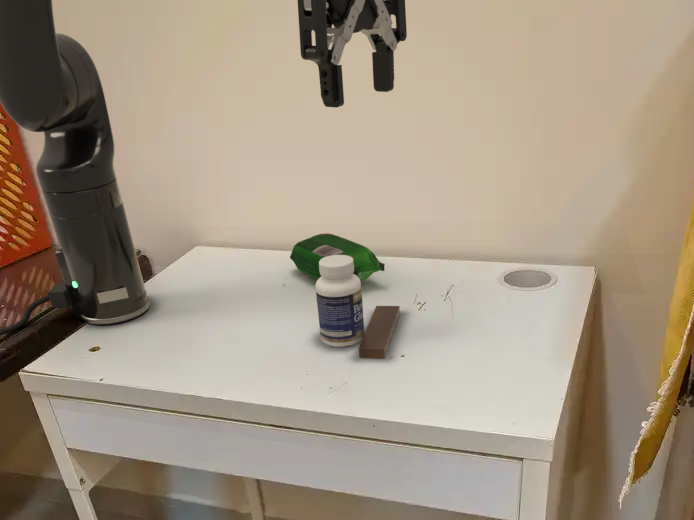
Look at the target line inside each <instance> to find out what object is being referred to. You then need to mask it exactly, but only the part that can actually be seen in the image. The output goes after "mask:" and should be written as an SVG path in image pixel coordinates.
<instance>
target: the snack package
mask: <svg viewBox="0 0 694 520" xmlns="http://www.w3.org/2000/svg"><path fill="white" fill-rule="evenodd" d="M332 255H347V256H350V257H352V258H353V262H354V272H353V273H352V274H354V275H356V276H357V277H358V278H359V279H360V282H363V281H365V280H366V279H368V278H369V277H371V276H372V275H373V273H376V272H379V271H381V272H384V271H385V265H386V263H385V262H384V263H383V262H381V261H380V260H379V259H378V257H377V256H376V255H375V253H374V252H373V251H372V250H371V249H369V248H368V247H366V246H365V245H363V244H360V243H358V242H355V241H352V240H350V239H347V238H345V237H341V236H339V235H336V234H333V233H326V232H325V233H318V234H315V235H312V236H311V237H308V238H305V239H303V240H301V241H298V242H296V244H294V246H293V247H292V251H291V253H290V255H289V259H290V260H291V261H292V262H293V264H294V265H295V267H296V269H297V270H298V271H299V272H300V273H302V274H303V275H305V276H306V277H310V278H312V279H315V280H316V281H317V280H318V279H319V278H320V277H322V276H321V275H320V272H319V261H320V260H321V259H322V258H324V257H327V256H332Z"/></svg>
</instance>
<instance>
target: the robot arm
mask: <svg viewBox="0 0 694 520" xmlns="http://www.w3.org/2000/svg"><path fill="white" fill-rule="evenodd" d="M53 9H54V8H53V0H0V104H1V106H2V108H3V110H4V111H5V112H6V114H7V115H8V116H9V117H10V119H12V121H13V122H14V123H16V124H17V125H18V126H20V127H21V128H22V129H25V130H27V131H29V132H33V133H43V136H44V144H43V148H42V152H41V155H40V157H39V159H38V160H37V163H36V165H35V173H36V178H37V179H38V180H37V181H38V184H39V187H40V189H41V192H42V196H43V199H44V202H45V206H46V208H47V211H48V214H49V217H50V220H51V223H52V227H53V229H54V234H55V236H56V239H57V242H58V246H59V247H58V248H57V249H56V250H55V252H54V256H55V259H56V262H57V265H58V267H59V271H60V275H61V277H62V280H61V281H60V282H58V283H57V284H56V285H55V286H53V287H52V288H50V290H48V291H47V295H45V296H42V297H40V298H37V299H35V300H34V301H33V302H31V303H30V304H29V305H28V306H27V307H26V308H25V310H24V312H23V316H22V318H21V319H20V320H18V321H17V322H15V323H13V324H11V325H8V326H7V327H3V328H0V335H5V334H8V333H11V332H14V331H15V332H16V330H18V329H21V328H23V327H24V326H25V325H26V324H27V323H28V322H29V320H30V318H31V315H32V312H33V311H34V310H35V309H37V307H39V306H40V305H41V306H42V305H43V304H45V303H48V302H50V304H51V308H52V309H69V308H72V312H73V314H74V318H75V320H82V321H83V322H86V323H88V324H93V325H112V324H118V323H122V322H126V321H130V320H132V319H134V318H137V317H139V316H140V315H143V314H144V313H145V312H146V311H148V310H149V308H150V304H151V303H150V300H149V297H148V295H147V290H146V286H145V283H144V279H143V275H142V271H141V267H140V263H139V259H138V255H137V251H136V248H135V244H134V240H133V236H132V231H131V229H130V225H129V220H128V216H127V212H126V208H125V204H124V201H123V198H122V193H121V190H120V186H119V182H118V177H117V174H116V169H115V164H114V162H115V154H116V153H115V151H116V150H115V149H116V148H115V139H114V135H113V130H112V126H111V125H112V124H111V120H110V115H109V111H108V106H107V101H106V96H105V92H104V88H103V84H102V80H101V77H100V74H99V71H98V69H97V67H96V64H95V62H94V60H93V58H92V56H91V55H90V53H89V52H88V51H87V49H86V48H85V47H84V46H83V45H82V44H81V43H80V42H79V41H77V40H76V39H75V38H73V37H71V36H69V35H68V34H64V33H58V32H56V25H55V20H54V19H55V17H54V10H53ZM406 11H407V10H406V0H297V14H298V30H299V31H298V32H299V33H298V34H299V47H300V48H299V49H300V57H301V59H302V60H303V61H311V62H313V63H315V64H316V65H317V67H318V76H319V77H318V78H319V87H320V88H319V89H320V97H321V100H322V103H323V105H324V106H325V107H326V108H340V107H343V106H344V104H345V95H344V79H343V65H342V64H339V63H340V62H341V60H342V55H343V52H344V50H345V46H346V44H348V43H349V42H350V41H351V40H352V37H353V34H356V33H360V32H361V33H362V34H364V35H365V36H366V37H367V39H368V41H369V43H370V45H371V48H372V50H373V51H372V52H371V57H372V61H371V62H372V79H373V89H374V91H375V92H379V93H380V92H381V93H388V92H391V91H393V90H394V88H395V85H394V84H395V56H394V55H395V54H394V53H395V51H396V50H397V48H398V44H399V43H400V42H405V41H406V40H407V38H408V37H407V36H408V32H407V31H408V30H407V29H408V28H407V12H406ZM392 16H394V18H395V27H392V26H393V20H392ZM313 32H314V39H315V42H314V43H315V45H313V35H312V33H313ZM331 44H332V45H331ZM330 45H331V47H330Z"/></svg>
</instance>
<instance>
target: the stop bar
mask: <svg viewBox="0 0 694 520" xmlns="http://www.w3.org/2000/svg"><path fill="white" fill-rule="evenodd" d="M400 308H401V307H400V305H375V308H374V310H373V313H372V315H371V318H370V320H369V323H368V325H367V328H366V330H365V331H364V337H363V339H362V340H361V341H360V344H359V347H358V357H359V359H385V358H386V356H387V353H388V350H389V347H390V344H391V341H392V339H393V335H394V333H395V329H396V327H397V324H398V321H399V318H400V315H401V310H400Z"/></svg>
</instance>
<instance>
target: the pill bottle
mask: <svg viewBox="0 0 694 520" xmlns="http://www.w3.org/2000/svg"><path fill="white" fill-rule="evenodd" d="M319 272H320V275H321V276H322V277H320V278H319V279H318V280H317V279H316V282H315V286H314V287H315V288H314V289H315V297H316V304H317V305H316V306H317V313H318V324H319V334H320V339H321V341H322V342H323V343H324V344H325V345H327V346H330V347H334V348H335V347H336V348H340V347H348V346H353V345H357V344H358V343H361V342H362V339H363V337H364V335H365V319H364V307H363V306H364V305H363V294H362V293H363V292H362V291H363V290H362V281H360V279H359V278H358V277H357V276H356V275H354V274H352V273H353V272H354V262H353V258H352V257H350V256H347V255H332V256H327V257H324V258H322V259H321V260H320V261H319Z"/></svg>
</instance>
